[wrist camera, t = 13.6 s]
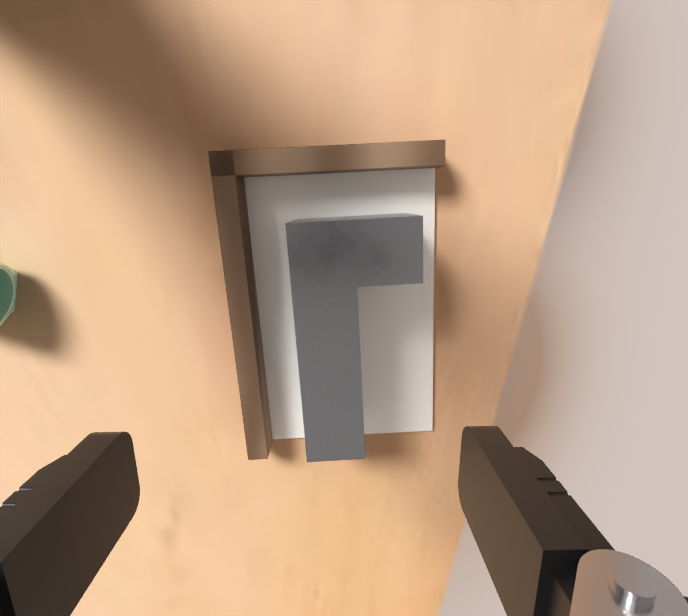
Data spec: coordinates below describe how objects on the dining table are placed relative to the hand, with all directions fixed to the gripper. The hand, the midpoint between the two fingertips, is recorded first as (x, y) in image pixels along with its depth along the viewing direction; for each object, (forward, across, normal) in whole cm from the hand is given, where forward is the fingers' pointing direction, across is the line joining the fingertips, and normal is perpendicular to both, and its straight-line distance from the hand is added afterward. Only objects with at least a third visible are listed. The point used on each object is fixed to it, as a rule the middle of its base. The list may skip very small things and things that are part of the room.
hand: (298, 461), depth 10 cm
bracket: (+21, -2, +3) cm, 21 cm away
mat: (+22, -2, +2) cm, 22 cm away
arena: (+22, -1, +2) cm, 22 cm away
